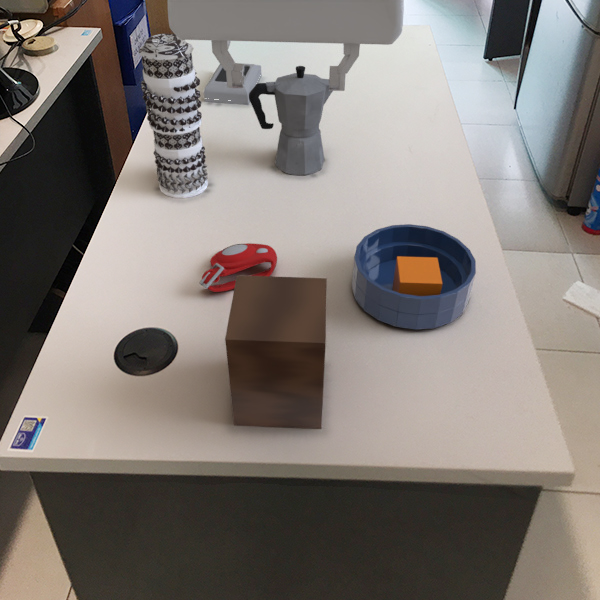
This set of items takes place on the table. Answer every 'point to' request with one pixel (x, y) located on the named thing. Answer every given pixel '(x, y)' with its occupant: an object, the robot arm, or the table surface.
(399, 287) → the orange cube
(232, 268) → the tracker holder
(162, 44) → the decorative candle
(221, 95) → the grey electronic device
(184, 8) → the robot arm
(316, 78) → the coffeepot
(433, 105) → the table surface
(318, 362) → the block
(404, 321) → the bowl
